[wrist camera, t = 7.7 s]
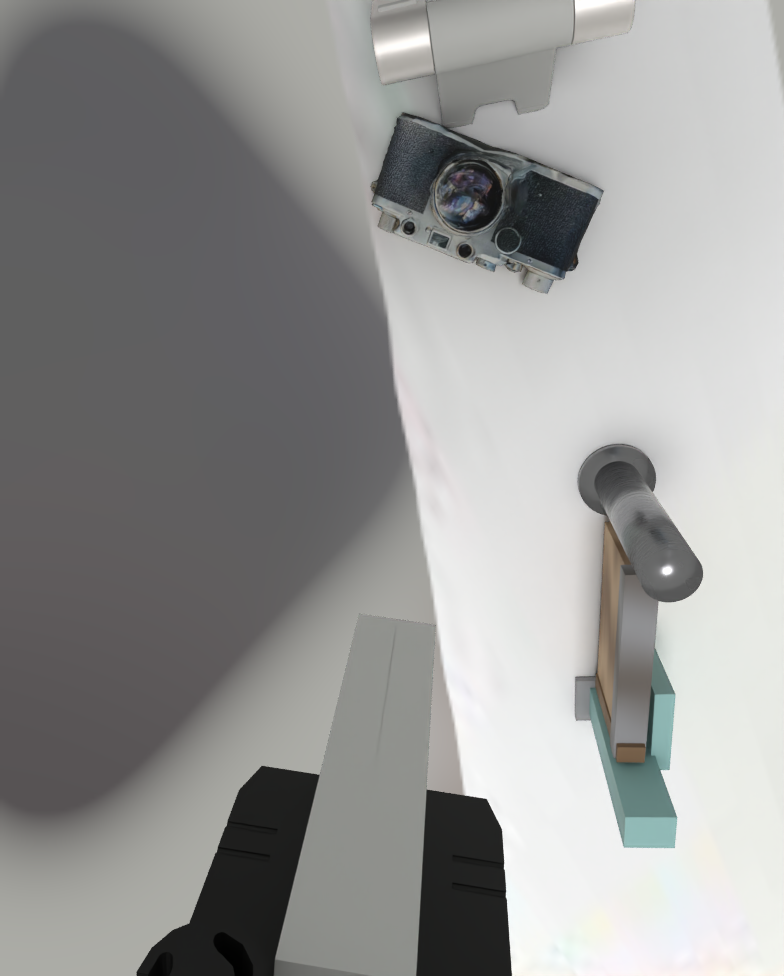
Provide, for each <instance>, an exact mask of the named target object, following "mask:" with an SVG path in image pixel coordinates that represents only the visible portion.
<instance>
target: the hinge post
mask: <svg viewBox="0 0 784 976" xmlns="http://www.w3.org/2000/svg"><path fill="white" fill-rule="evenodd" d="M655 483H656V474H655V469H654V467H653V465H652V463H651V461H650V460H649V459H648V457H647V456H646V455H645V454H644V453H643V452H641V451H640V450H638V449H637V448H635V447H632V446H628V445H622V444H616V445H610V446H606V447H603V448H601V449H599V450H597V451H595V452H594V453H593V454H591V455H590V456H589V457H588V458H587V459H586V460H585V462H584V463H583V465H582V467H581V469H580V471H579V475H578V488H579V492H580V494H581V497H582V499H583V500H584V502H585V503H586V504H587V505H588V506H589V507H590V508H591V509H592V510H594V511H596V512H597V513H600V514H603V515H607V516H608V518H609V520H610V522H611V524H612V526H613V528H614V530H615V532H616V534H617V536H618V538H619V540H620V542H621V544H622V546H623V549H624V551H625V553H626V555H627V557H628V559H629V561H630V563H631V565H632V567H633V569H634V571H635V573H636V575H637V577H638V580H639V582H640V584H641V586H642V588H643V590H644V591H645V592H646V594H647V595H649V596H650V597H651V598H653V599H655V600H658V601H661V602H676V601H680V600H683V599H685V598H687V597H689V596H690V595H691V594H693V593H694V592H695V591H696V590H697V589H698V587H699V586H700V584H701V581H702V578H703V569H702V566H701V563H700V562H699V560H698V559H697V557H696V556H695V554H694V553H693V551H692V550H691V548H690V547H689V545H688V544H687V542H686V541H685V540H684V538H683V537H682V535H681V534H680V532H679V531H678V529H677V528H676V526H675V525H674V523H673V522H672V520H671V519H670V517H669V516H668V515H667V513H666V512H665V510H664V509H663V507H662V506H661V504H660V503H659V501H658V500H657V498H656V497H655V495H654V494H653V491H654V488H655Z"/></svg>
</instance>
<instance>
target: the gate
mask: <svg viewBox="0 0 784 976" xmlns="http://www.w3.org/2000/svg"><path fill="white" fill-rule="evenodd" d="M657 612H658V600H655V599H653V598H651V597H650V596H649V595H647V594H646V592H645V591H644V590H643V588H642V586H641V584H640V582H639V580H638V577H637V575H636V573H635V571H634V569H633V567H632V565H631V563H630V561H629V559H628V557H627V555H626V553H625V551H624V549H623V546H622V544H621V542H620V540H619V538H618V536H617V534H616V532H615V530H614V528H613V526H612V524H611V522H605V531H604V551H603V572H602V592H601V613H600V633H599V653H598V673H596V680H595V688H596V691H597V695H598V698H599V702H600V705H601V709H602V712H603V716H604V719H605V723H606V726H607V730H608V733H609V737H610V747H611V751H612V754H613V758H616V761H617V762H632V763H644V762H645V752H646V741H647V729H648V717H649V706H650V694H651V682H652V671H653V659H654V647H655V635H656V624H657Z"/></svg>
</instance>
